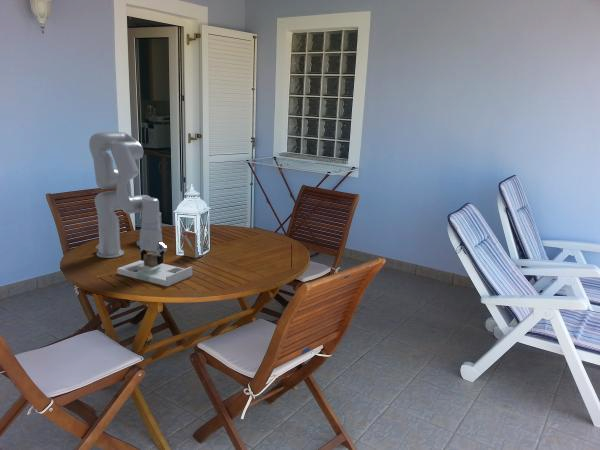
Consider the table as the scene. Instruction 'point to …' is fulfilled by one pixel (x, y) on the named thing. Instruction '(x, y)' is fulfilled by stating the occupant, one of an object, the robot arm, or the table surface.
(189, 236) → the small box
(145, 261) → the walnut block
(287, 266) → the table surface
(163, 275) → the deck
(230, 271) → the table surface
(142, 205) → the robot arm
